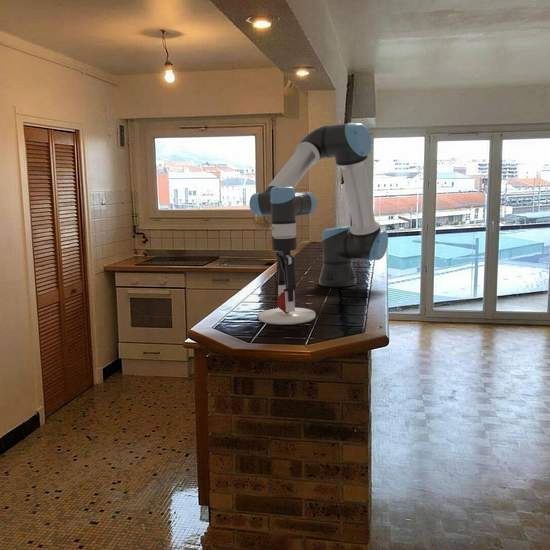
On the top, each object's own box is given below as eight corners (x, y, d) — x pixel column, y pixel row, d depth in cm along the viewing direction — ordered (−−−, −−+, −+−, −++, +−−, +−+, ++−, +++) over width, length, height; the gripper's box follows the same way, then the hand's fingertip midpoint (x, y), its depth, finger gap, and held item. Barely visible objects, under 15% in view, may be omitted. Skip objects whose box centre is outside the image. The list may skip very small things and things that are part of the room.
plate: (307, 309, 198) (307, 305, 198) (322, 321, 181) (322, 317, 181) (254, 313, 195) (253, 310, 194) (264, 326, 177) (264, 322, 177)
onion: (285, 309, 192) (284, 285, 190) (299, 312, 188) (298, 287, 186) (274, 314, 187) (272, 289, 186) (288, 316, 184) (287, 291, 182)
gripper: (265, 234, 193) (268, 302, 197) (279, 241, 172) (282, 316, 176) (287, 233, 195) (290, 300, 199) (304, 239, 174) (307, 314, 177)
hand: (286, 308), depth 187 cm, fingers open, 9 cm apart
